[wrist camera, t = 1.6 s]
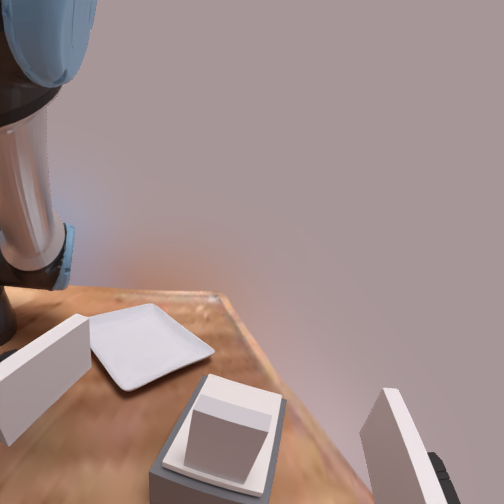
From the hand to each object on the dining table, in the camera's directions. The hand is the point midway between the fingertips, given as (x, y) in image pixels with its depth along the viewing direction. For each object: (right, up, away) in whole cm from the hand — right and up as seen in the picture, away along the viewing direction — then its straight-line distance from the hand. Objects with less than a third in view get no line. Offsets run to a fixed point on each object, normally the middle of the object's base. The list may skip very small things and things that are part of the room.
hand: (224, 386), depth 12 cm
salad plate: (-21, -14, +43) cm, 50 cm away
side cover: (-1, -15, +19) cm, 24 cm away
